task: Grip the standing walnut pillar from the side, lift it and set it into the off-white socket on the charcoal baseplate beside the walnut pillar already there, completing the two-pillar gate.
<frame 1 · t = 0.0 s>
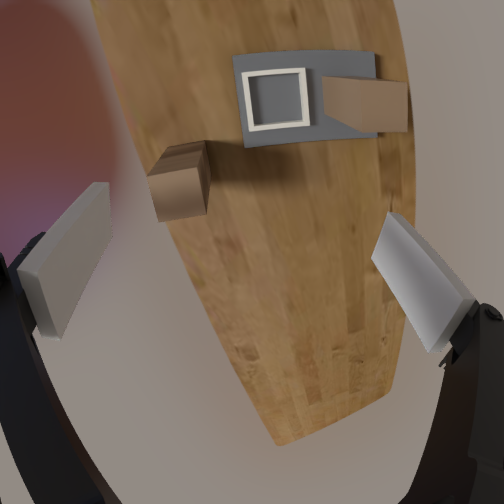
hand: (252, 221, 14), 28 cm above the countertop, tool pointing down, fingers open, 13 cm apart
pillar: (189, 161, 39), on the countertop
baseplate: (308, 94, 36), on the countertop
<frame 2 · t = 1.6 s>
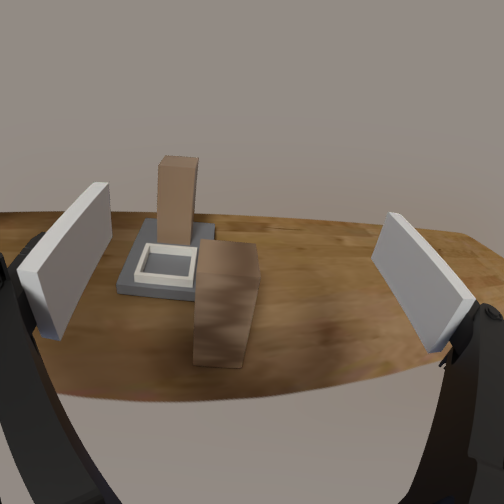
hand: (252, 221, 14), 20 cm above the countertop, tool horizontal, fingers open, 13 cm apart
pillar: (217, 348, 32), on the countertop
baseplate: (171, 257, 45), on the countertop
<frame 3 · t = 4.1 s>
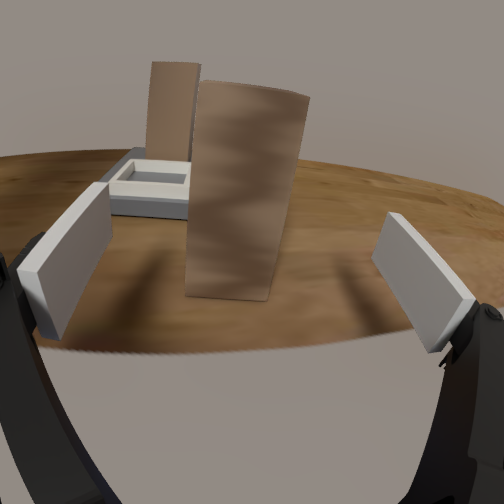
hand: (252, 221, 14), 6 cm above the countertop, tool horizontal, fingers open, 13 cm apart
pillar: (225, 274, 21), on the countertop
baseplate: (163, 181, 33), on the countertop
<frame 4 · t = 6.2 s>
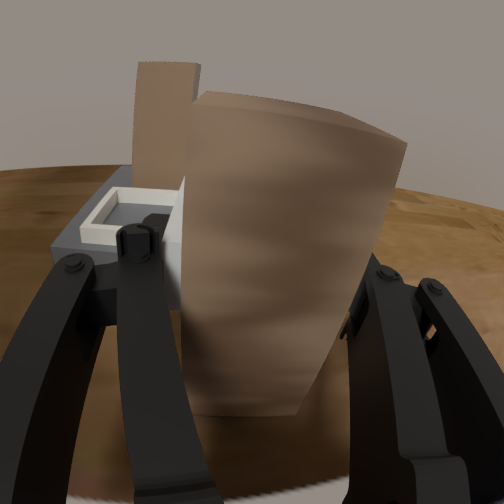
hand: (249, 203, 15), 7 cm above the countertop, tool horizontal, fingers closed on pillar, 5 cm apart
pillar: (238, 372, 14), on the countertop, touching gripper
baseplate: (154, 213, 27), on the countertop
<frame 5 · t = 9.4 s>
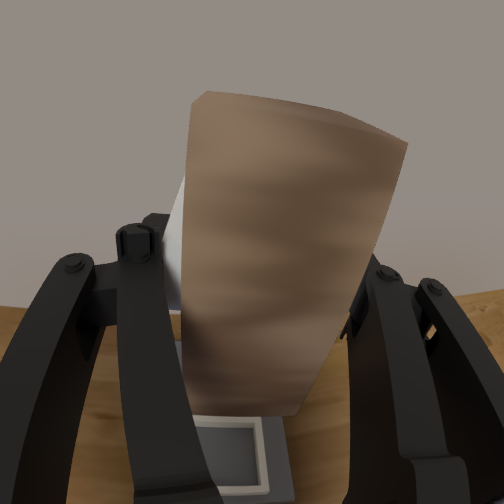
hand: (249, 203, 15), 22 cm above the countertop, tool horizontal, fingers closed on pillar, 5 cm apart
pillar: (238, 373, 14), point 15 cm above the countertop, touching gripper
baseplate: (217, 421, 26), on the countertop
when the fingers open (9 cm above the countertop, at t = 12.8 s): pillar stays where it is, resting on baseplate.
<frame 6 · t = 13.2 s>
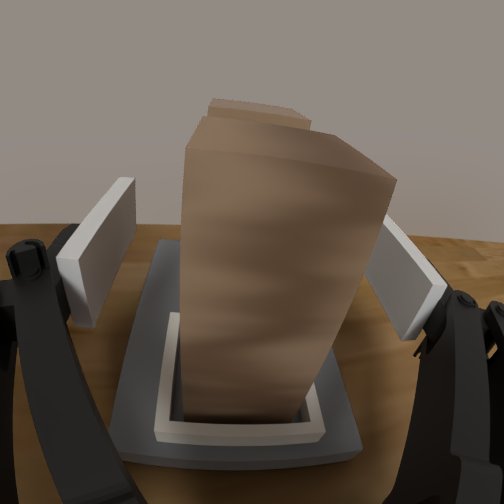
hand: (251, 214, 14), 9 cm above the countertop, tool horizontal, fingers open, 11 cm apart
pillar: (235, 383, 15), point 1 cm above the countertop, touching baseplate
baseplate: (230, 337, 20), on the countertop
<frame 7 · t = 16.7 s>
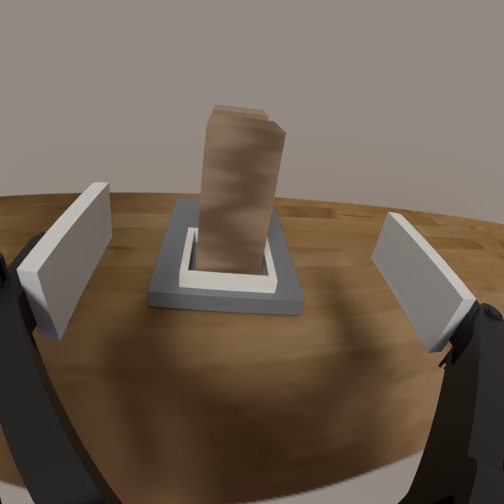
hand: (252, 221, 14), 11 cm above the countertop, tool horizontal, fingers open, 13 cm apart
pillar: (226, 263, 27), point 1 cm above the countertop, touching baseplate
baseplate: (224, 250, 31), on the countertop
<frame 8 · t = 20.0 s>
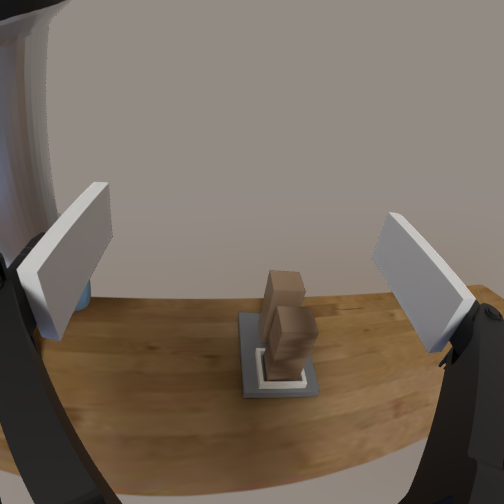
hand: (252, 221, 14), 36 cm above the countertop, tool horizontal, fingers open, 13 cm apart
pillar: (279, 370, 48), point 1 cm above the countertop, touching baseplate
baseplate: (274, 354, 53), on the countertop
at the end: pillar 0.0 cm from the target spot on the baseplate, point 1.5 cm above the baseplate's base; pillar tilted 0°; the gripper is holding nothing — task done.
